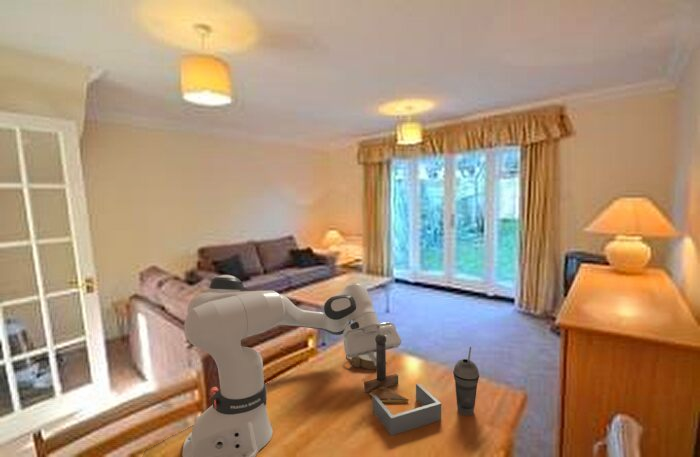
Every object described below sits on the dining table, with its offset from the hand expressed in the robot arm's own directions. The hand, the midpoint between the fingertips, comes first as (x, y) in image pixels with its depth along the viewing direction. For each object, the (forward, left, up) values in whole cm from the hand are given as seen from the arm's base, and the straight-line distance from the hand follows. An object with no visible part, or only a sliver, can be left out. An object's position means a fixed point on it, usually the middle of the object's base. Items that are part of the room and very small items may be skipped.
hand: (379, 364), depth 120 cm
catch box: (-1, -18, -7) cm, 19 cm away
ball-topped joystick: (-1, -2, -7) cm, 7 cm away
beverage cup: (+16, -23, -7) cm, 29 cm away
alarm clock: (+2, +16, -8) cm, 18 cm away
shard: (-1, -7, -8) cm, 11 cm away
